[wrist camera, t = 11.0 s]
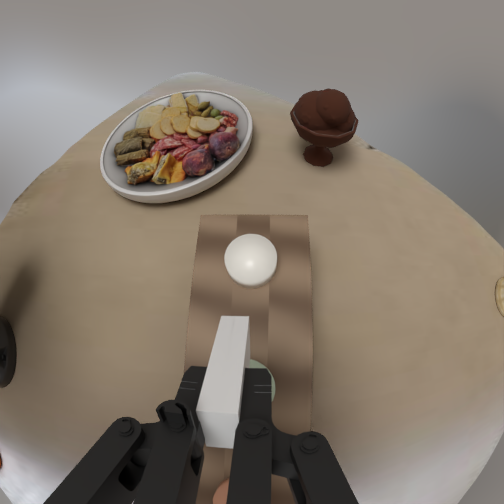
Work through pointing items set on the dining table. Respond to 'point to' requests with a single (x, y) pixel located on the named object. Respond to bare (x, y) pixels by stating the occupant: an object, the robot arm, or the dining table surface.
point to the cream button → (251, 260)
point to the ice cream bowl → (323, 123)
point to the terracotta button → (221, 492)
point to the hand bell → (500, 295)
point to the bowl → (176, 146)
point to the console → (256, 325)
